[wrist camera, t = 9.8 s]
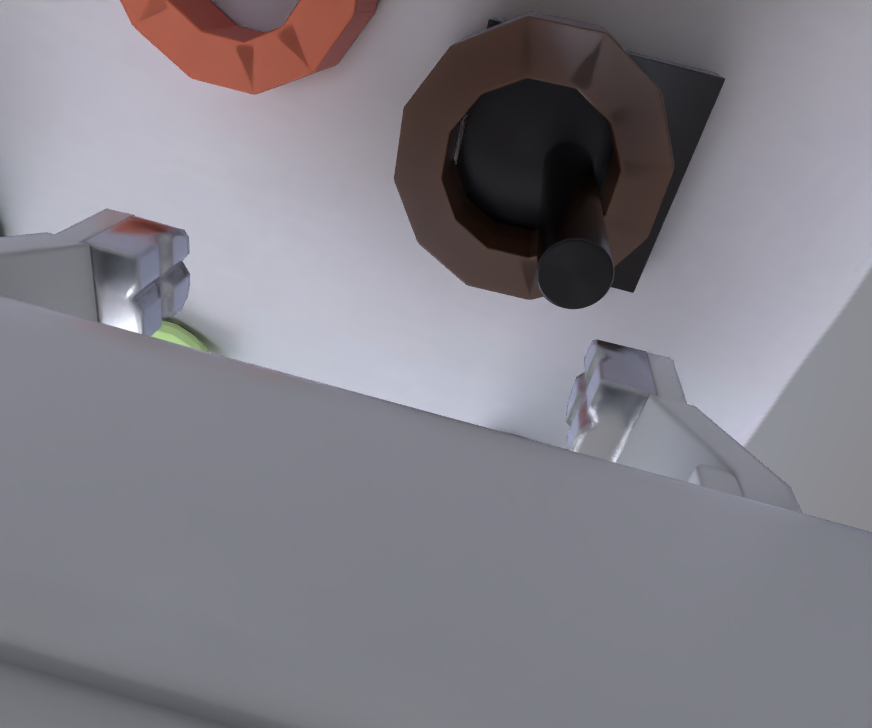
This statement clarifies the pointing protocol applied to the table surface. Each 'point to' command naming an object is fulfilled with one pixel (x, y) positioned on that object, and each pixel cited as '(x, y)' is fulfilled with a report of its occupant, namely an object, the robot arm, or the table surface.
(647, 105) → the walnut ring
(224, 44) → the terracotta ring
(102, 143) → the table surface
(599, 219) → the peg stand
